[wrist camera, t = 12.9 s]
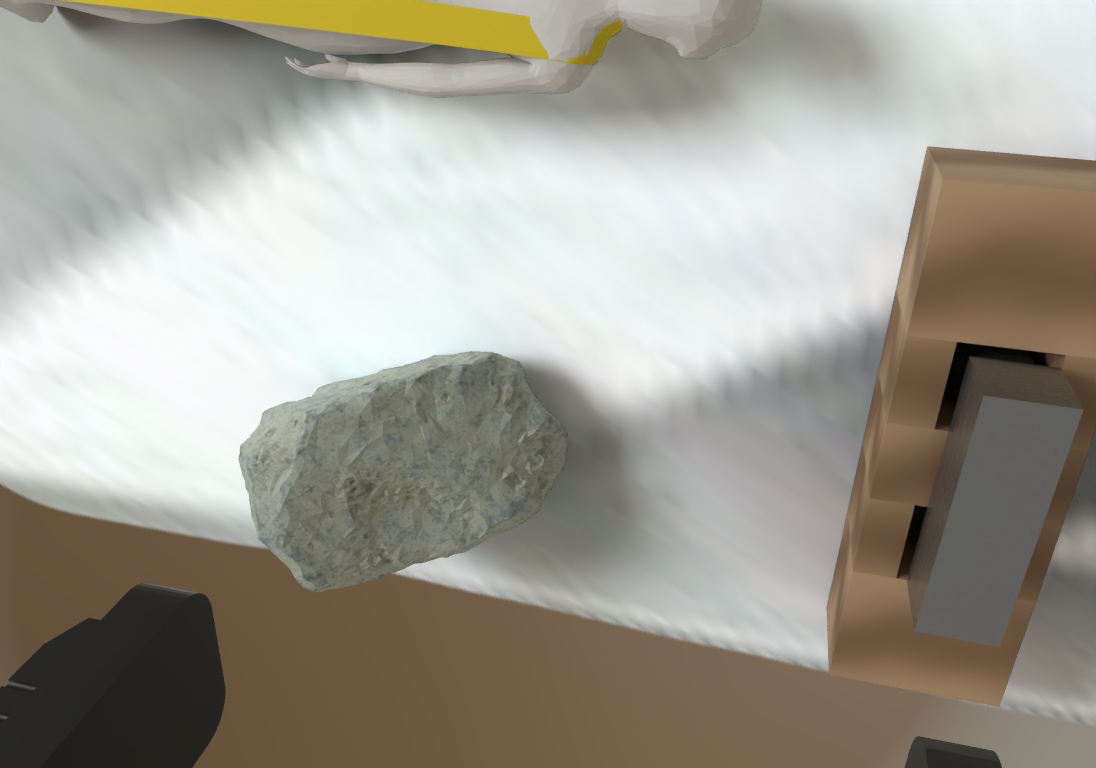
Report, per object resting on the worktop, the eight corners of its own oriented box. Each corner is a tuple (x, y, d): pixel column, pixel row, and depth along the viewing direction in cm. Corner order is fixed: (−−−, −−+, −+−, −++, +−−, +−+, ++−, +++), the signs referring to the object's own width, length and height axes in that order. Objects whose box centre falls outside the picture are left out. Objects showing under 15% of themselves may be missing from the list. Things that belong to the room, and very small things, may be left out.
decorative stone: (290, 496, 50) (330, 662, 43) (196, 344, 42) (226, 518, 35) (528, 399, 52) (604, 542, 45) (481, 235, 44) (565, 379, 37)
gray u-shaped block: (950, 302, 38) (983, 395, 31) (1031, 312, 37) (1083, 409, 30) (896, 510, 42) (914, 631, 36) (967, 521, 42) (999, 647, 35)
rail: (927, 146, 35) (942, 178, 31) (1133, 164, 34) (1176, 199, 30) (826, 607, 46) (829, 674, 42) (982, 634, 44) (999, 706, 40)
